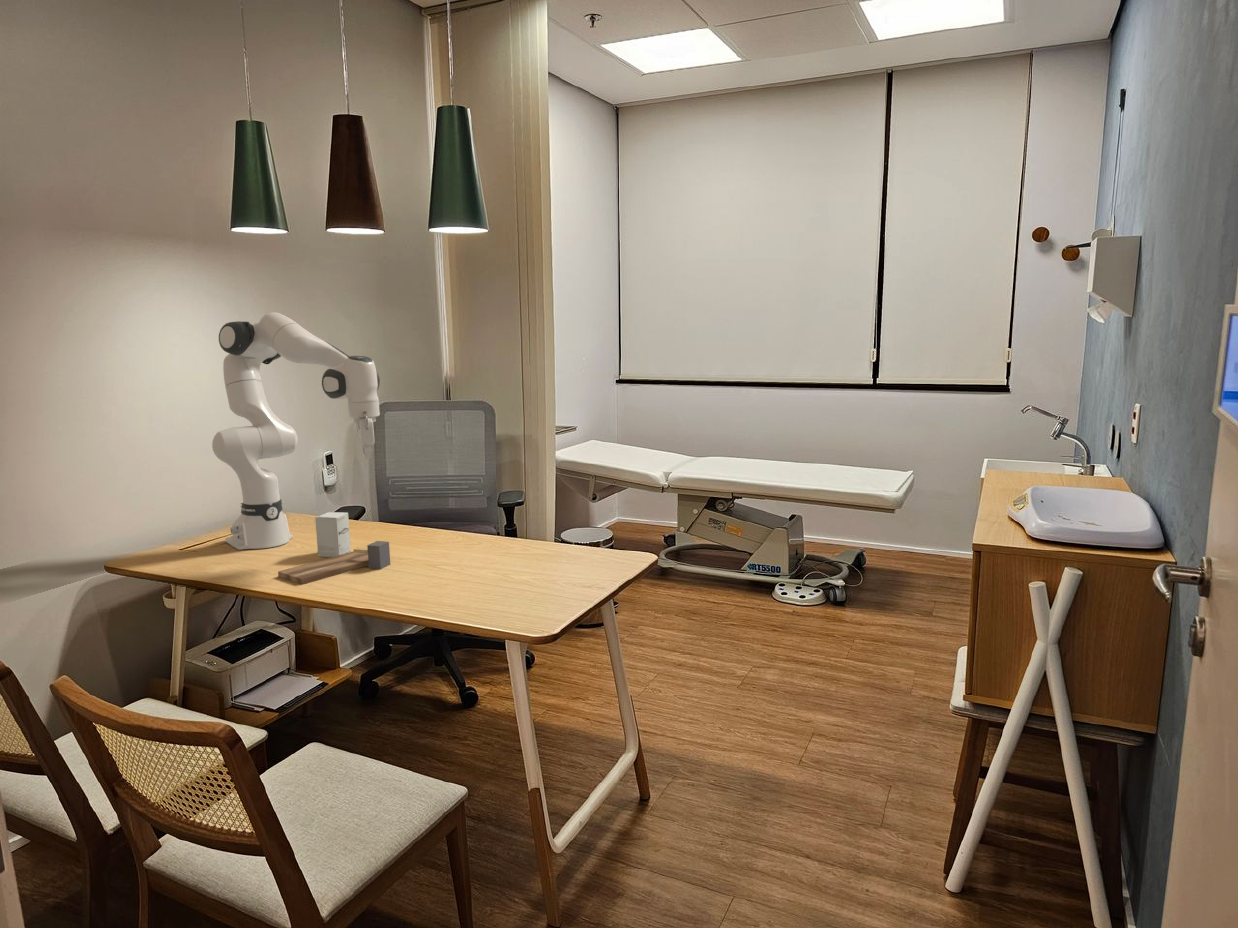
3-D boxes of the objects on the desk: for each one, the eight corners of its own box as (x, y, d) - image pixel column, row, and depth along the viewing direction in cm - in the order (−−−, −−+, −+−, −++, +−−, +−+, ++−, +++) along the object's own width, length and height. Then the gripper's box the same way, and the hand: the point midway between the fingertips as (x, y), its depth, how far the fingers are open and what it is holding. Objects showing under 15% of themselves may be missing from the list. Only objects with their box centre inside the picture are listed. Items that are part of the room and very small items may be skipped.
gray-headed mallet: (351, 566, 238) (349, 543, 237) (361, 562, 243) (359, 539, 242) (380, 569, 235) (379, 546, 234) (390, 564, 240) (388, 541, 239)
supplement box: (339, 557, 248) (336, 517, 246) (317, 556, 249) (314, 516, 247) (351, 551, 255) (348, 512, 253) (330, 550, 256) (327, 511, 254)
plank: (278, 576, 230) (277, 571, 229) (362, 553, 251) (362, 548, 251) (301, 584, 222) (301, 578, 222) (386, 560, 244) (386, 554, 244)
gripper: (377, 413, 233) (380, 460, 236) (372, 407, 252) (375, 450, 254) (354, 414, 231) (358, 462, 233) (351, 408, 250) (354, 452, 252)
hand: (367, 456), depth 244 cm, fingers open, 8 cm apart
